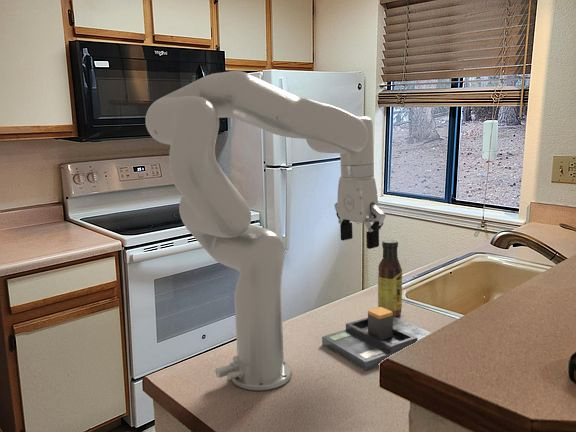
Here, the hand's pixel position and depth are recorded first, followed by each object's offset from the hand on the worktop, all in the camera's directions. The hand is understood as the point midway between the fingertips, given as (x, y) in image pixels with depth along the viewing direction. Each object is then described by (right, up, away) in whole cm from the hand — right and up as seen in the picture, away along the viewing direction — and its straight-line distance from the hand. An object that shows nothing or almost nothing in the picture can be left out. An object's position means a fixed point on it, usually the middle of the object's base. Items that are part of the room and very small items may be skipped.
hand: (359, 243), depth 125 cm
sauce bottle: (+10, -20, +17) cm, 28 cm away
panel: (+5, -23, -2) cm, 24 cm away
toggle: (+5, -21, -2) cm, 22 cm away
